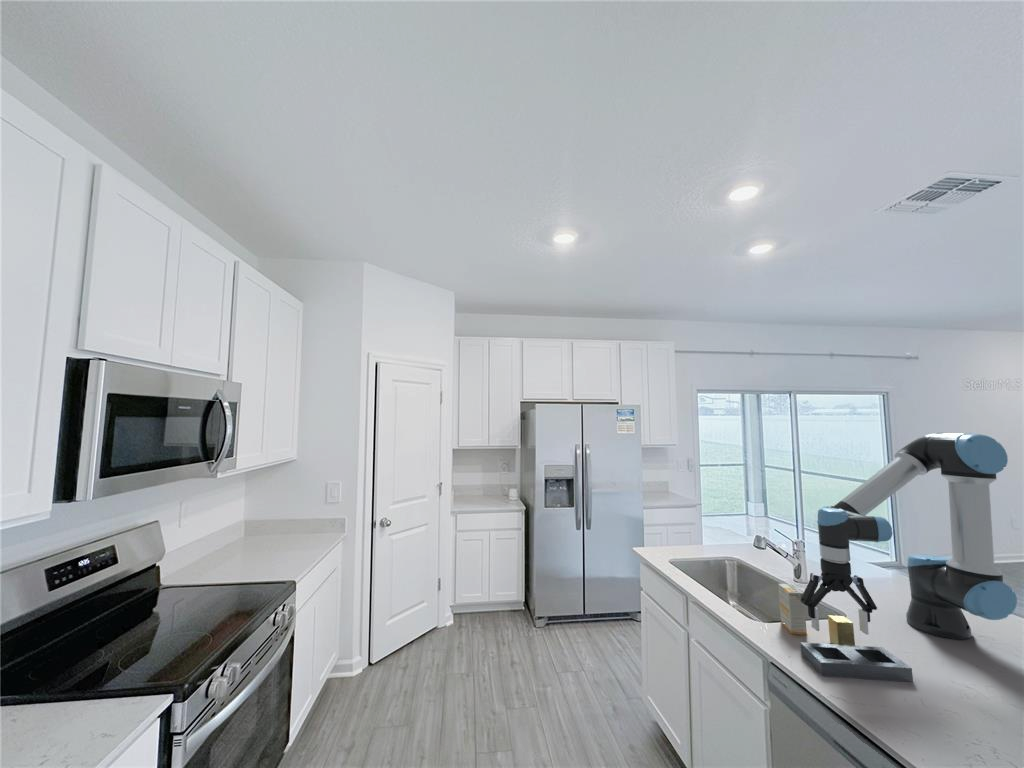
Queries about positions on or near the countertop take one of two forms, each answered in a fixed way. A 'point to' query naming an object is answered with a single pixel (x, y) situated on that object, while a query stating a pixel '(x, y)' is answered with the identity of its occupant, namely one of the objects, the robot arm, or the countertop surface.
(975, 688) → the countertop surface
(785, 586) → the supplement box
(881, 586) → the countertop surface
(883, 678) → the grey flat slotted block
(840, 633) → the brass block
